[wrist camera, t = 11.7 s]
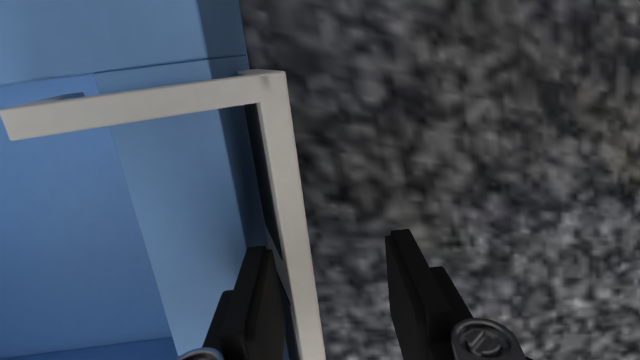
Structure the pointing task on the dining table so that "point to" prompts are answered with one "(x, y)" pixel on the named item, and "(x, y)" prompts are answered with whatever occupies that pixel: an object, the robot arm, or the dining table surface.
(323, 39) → the dining table surface
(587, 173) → the dining table surface
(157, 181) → the bin
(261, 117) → the white sunglasses
